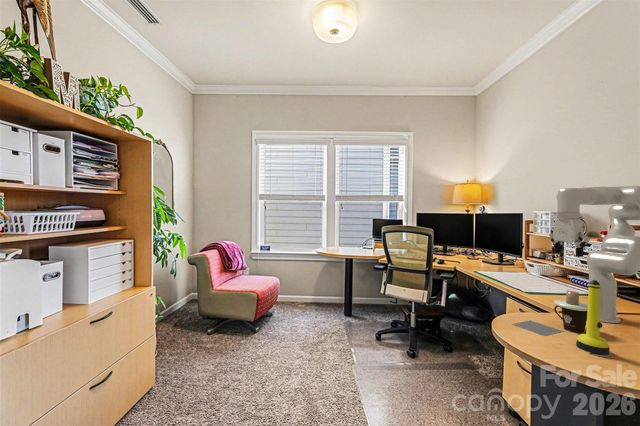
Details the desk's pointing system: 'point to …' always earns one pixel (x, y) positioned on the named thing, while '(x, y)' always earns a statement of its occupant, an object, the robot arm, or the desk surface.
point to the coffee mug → (573, 320)
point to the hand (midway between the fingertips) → (568, 255)
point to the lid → (572, 302)
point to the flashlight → (593, 325)
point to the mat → (537, 328)
